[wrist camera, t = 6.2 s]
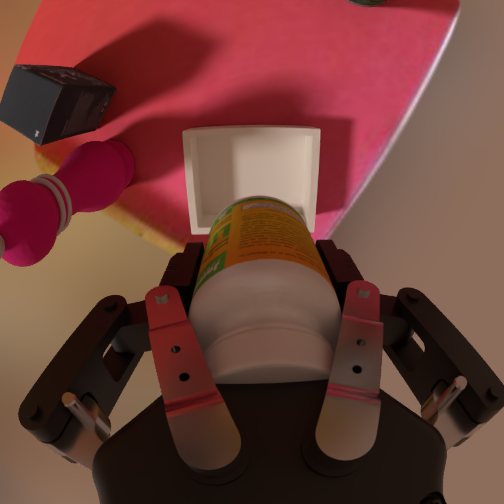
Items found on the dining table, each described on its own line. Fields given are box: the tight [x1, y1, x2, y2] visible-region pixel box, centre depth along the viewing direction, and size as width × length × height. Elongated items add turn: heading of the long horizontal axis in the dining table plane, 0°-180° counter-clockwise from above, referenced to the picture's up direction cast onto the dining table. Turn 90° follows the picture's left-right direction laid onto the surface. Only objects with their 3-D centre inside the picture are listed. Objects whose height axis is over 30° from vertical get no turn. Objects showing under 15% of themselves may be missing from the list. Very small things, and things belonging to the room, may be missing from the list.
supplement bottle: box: [188, 195, 342, 384], centre depth 11 cm, size 5×5×10 cm
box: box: [0, 65, 116, 146], centre depth 18 cm, size 8×6×11 cm
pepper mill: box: [0, 140, 135, 267], centre depth 19 cm, size 7×7×20 cm
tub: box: [182, 125, 320, 234], centre depth 27 cm, size 10×12×4 cm
